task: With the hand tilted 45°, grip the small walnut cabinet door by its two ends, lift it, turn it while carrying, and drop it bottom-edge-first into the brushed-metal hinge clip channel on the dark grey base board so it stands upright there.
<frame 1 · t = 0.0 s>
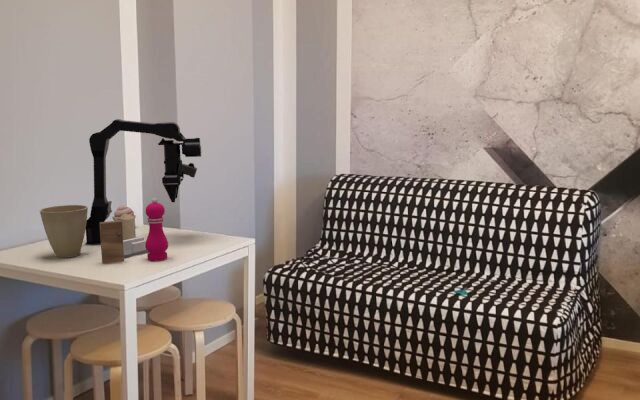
hand: (174, 200, 248), 15 cm above the table, tool pointing down, fingers open, 9 cm apart
cupcake: (124, 228, 273), on the table
plant pot: (67, 255, 229), on the table
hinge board: (138, 251, 232), on the table
door: (113, 261, 219), on the table
pepper mill: (157, 259, 222), on the table
candle: (128, 241, 249), on the table
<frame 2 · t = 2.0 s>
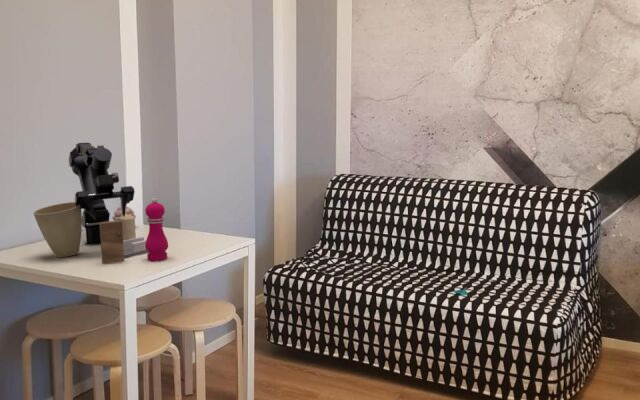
hand: (110, 217, 225), 13 cm above the table, tool tilted 40°, fingers open, 9 cm apart
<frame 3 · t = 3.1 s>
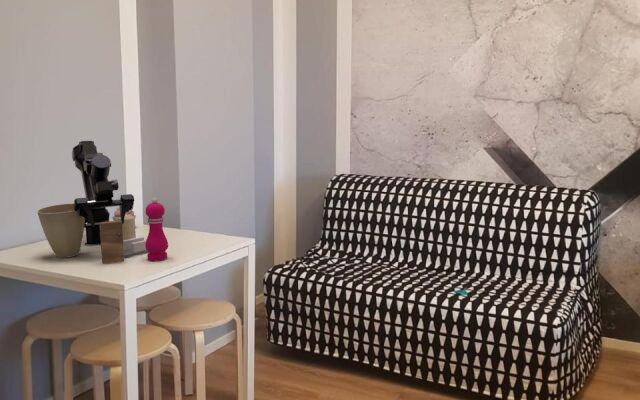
hand: (108, 224, 221), 11 cm above the table, tool tilted 45°, fingers open, 9 cm apart
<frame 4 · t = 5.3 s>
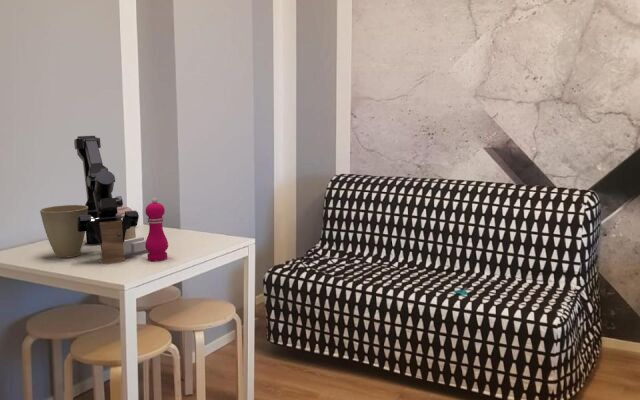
hand: (112, 242, 217), 7 cm above the table, tool tilted 45°, fingers closed on door, 6 cm apart
door: (113, 261, 219), on the table, touching gripper
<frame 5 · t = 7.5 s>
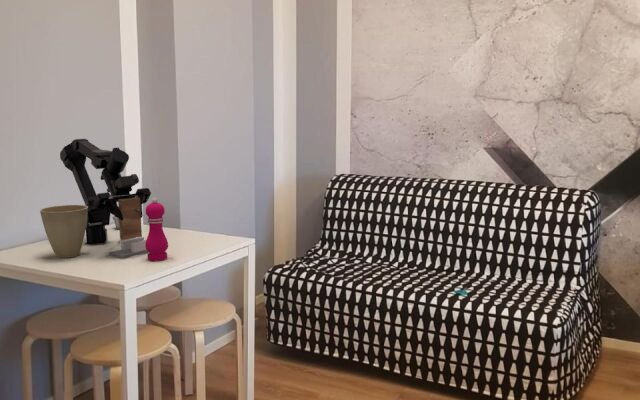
hand: (132, 218, 225), 12 cm above the table, tool tilted 45°, fingers closed on door, 6 cm apart
door: (131, 237, 227), point 6 cm above the table, touching gripper
everything else where it was.
when the fingers open (9 cm above the table, at t = 9.7 s): door drops 1 cm, resting on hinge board.
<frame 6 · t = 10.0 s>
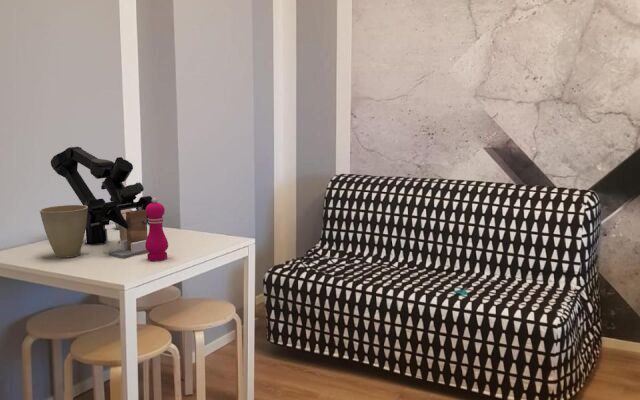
hand: (139, 226, 230), 9 cm above the table, tool tilted 45°, fingers open, 9 cm apart
door: (137, 248, 232), point 1 cm above the table, touching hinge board
everything else where it was.
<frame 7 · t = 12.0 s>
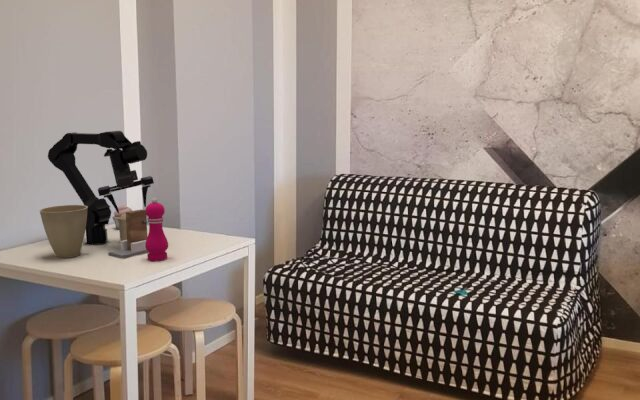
hand: (132, 210, 239), 13 cm above the table, tool pointing down, fingers open, 9 cm apart
nothing on the table moved.
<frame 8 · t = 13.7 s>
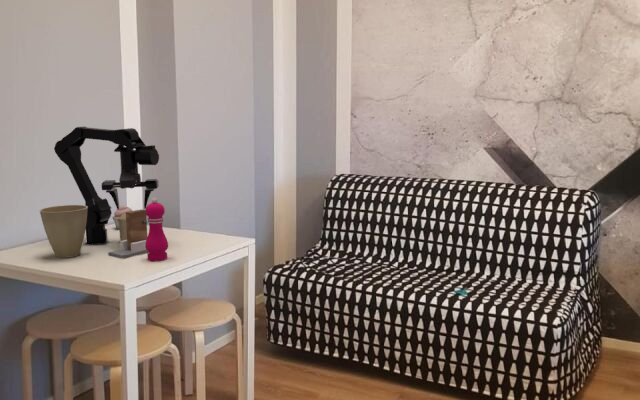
hand: (131, 208, 241), 13 cm above the table, tool pointing down, fingers open, 9 cm apart
nothing on the table moved.
at the end: door 0.0 cm off-centre on the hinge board, point 1.0 cm above the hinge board's base; door tilted 0°; the gripper is holding nothing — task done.
